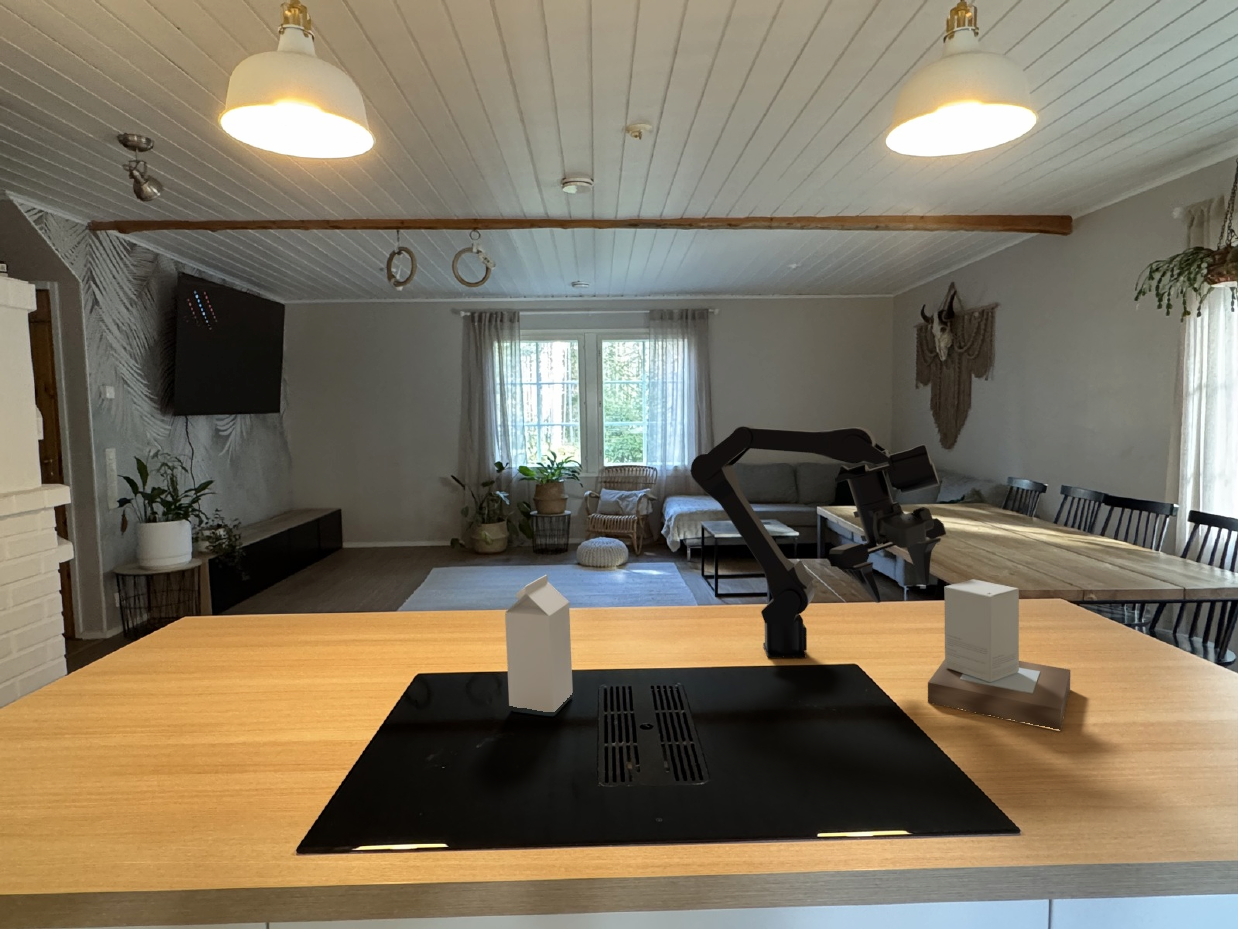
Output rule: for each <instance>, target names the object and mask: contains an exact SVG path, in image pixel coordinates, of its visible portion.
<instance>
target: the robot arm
mask: <svg viewBox="0 0 1238 929" xmlns="http://www.w3.org/2000/svg"><path fill="white" fill-rule="evenodd" d="M927 448H928V447H927V445H926V444H925V443H924V444H920V445H915V447H913V448H910V449H906V450H903V451H898V452H896V453H892V452H891V451H889V450H888V449H885V448H884V447H883V446H881V445H880V444H879V443H877V442H876V438H875V436H874V434H873V433H872V432H871V431H870V429H867V428H866V427H862V426H853V427H845V428H836V429H835V428H834V429H828V430H827V429H826V430H819V431H818V430H805V429H804V430H801V429H786V428H785V429H784V428H771V427H770V428H768V427H755V426H751V425H744V426H743V425H742V426H738V427H737V428H735V429H734V430H733V431H732V433H731V434H730V435H728V436H727V437H726V438H725V439H723V440H722V441H721V442H719V443H718V444H717V445H716V446H714V447H713V448H712V449H711V450H709V452H706V453H701V454H700V455H697V456H696V457H694V458H693V460H692V462H691V465H690V475H691V477H692V479H693V481H694V482H695V483H696V484H697V485H698V487H700V488H701V489H702V491H703V492H704V493H706V495H708V496H710V498H712V499H714V500H715V501H716V502H717V503H718V504H719V505H720V507H722V509H723V511H724V513H725V514H726V516H727V517H728V518H729V520H730V522H731V523H732V524H733V526H734V527H735V529H736V531H737V532H738V533H739V535H740V537H741V538H742V539H743V541H744V543H745V545H746V546H747V547H748V549H749V551H750V552H751V554H752V555H753V556H754V558H755V560H756V561H757V562H758V564H759V566H760V567H761V569H762V570H763V572H764V576H765V580H766V584H767V587H768V591H769V592H770V595H771V598H772V599H771V600H770V601H769V602H768V603H767V604H766V605H765V607H763V609H761V611H760V614H761V615H762V616H761V617H762V618H763V622H764V642H763V643H762V645H763V648H764V651H765V654H766V656H767V658H771V659H773V658H775V659H776V658H777V659H780V658H781V659H783V658H787V659H789V658H790V659H791V658H793V659H794V658H796V659H797V658H798V659H799V658H803V659H804V658H806V657H807V654H806V651H807V649H808V648H807V647H808V646H807V645H808V642H807V640H808V638H807V636H808V635H807V634H808V633H807V631H808V630H807V629H808V628H807V627H806V625H805V623H804V619H803V617H802V615H800V614H802V613H803V612H804V611H806V609H807V607H808V606H809V605H810V603H812V600H813V598H814V596H815V592H816V589H815V585H814V583H813V582H814V580H815V577H813V576H811V575H810V574H809V572H808V571H807V570H806V567H805V565H804V563H803V561H802V560H800V559H799V560H798V561H797V562H796V563H793V561H791V560H789V559H788V558H787V557H786V556H785V555H784V553H783V552H782V550H781V549H780V547H779V546H778V544H777V543H776V541H775V540H774V538H773V537H772V535H771V533H770V532H769V530H768V529H767V528H766V526H765V525H764V523H763V522H762V520H761V519H760V517H759V515H758V514H757V513H756V512H755V510H754V508H753V506H752V505H751V504H750V502H749V500H748V499H747V498H746V496H745V495H744V494H743V492H742V490H741V487H740V482H739V480H738V478H739V477H738V475H737V473H736V472H737V471H736V470H735V468H734V466H735V465H736V464H737V463H738V462H739V461H740V460H741V459H742V458H743V457H744V456H745V455H746V454H747V453H748V452H749V451H750V450H751V449H753V450H768V451H777V452H778V451H779V452H791V453H792V452H793V453H806V454H807V453H808V454H815V455H819V456H822V457H825V458H828V459H832V460H836V461H839V462H845V463H848V464H860V463H862V462H867V463H870V464H873V465H880V464H884V463H887V464H885V465H881V466H877V467H873V468H869V466H868V465H867V464H866V463H865V464H861V465H857V466H854V467H850V468H849V467H847V466H845V465H844V464H843V465H841V466H840V467H839V471H838V473H837V475H836V476H835V478H834V482H836V483H840V482H844V481H847V482H848V485H849V488H850V492H851V494H852V498H853V501H854V505H855V508H856V511H853V516H854V518H855V519H858V518H859V522H860V524H861V527H862V531H863V533H864V534H861V535H860V538H861V541H862V542H865V543H857V542H855V543H851V542H850V543H848V542H847V543H845V544H842V545H839V546H835V547H833V548H831V549H829V553H828V557H827V558H828V560H829V564H830V567H834V568H835V567H836V568H839V570H846V571H847V572H848V574H850V575H851V576H852V577H853V578H854V580H856V581H857V582H858V583H859V585H860V586H861V587H862V588H863V589H864V591H866V593H867V594H868V596H870V598H871V599H872V600H873V602H875V603H877V604H879V603H881V602H882V599H881V596H880V595H881V594H880V592H879V589H878V586H877V582H876V580H875V577H874V574H873V567H874V562H872V561H868V560H869V558H870V555H871V554H874V553H877V552H879V551H882V550H886V549H889V548H891V547H894V546H896V547H898V548H900V549H906V550H907V552H908V555H909V557H910V559H911V562H912V564H913V565H912V566H913V567H914V569H915V571H916V575H917V576H918V579H919V580H920V582H921V584H922V585H923V586H929V584H930V574H931V572H930V570H931V558H932V552H933V550H934V549H935V546H936V545H937V544H938V543H940V542H941V540H942V538H941V537H942V536H945V535H947V530H946V528H945V524H944V523H943V522H942V521H941V520H940V519H938V518H937V517H935V518H933V516H932V513H931V511H930V509H929V508H927V507H925V506H921V507H918V508H916V509H913V511H912V512H908V513H904V511H903V509H902V506H901V505H900V503H899V502H898V501H897V502H894V500H893V497H892V494H891V492H890V487H889V484H888V482H887V478H886V475H885V473H884V471H886V472H887V476H888V479H889V482H890V485H891V487H892V490H896V491H899V490H900V492H901V494H902V495H904V494H907V493H909V494H910V493H912V492H916V491H921V490H924V489H930V488H933V487H937V486H940V481H939V477H938V474H937V473H938V472H937V471H936V468H935V464H934V462H933V461H932V460H931V456H930V454H929V452H928V449H927Z"/></svg>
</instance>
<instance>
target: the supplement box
mask: <svg viewBox="0 0 1238 929" xmlns="http://www.w3.org/2000/svg"><path fill="white" fill-rule="evenodd" d="M943 588H944V660H945V667H946V668H949V669H952V670H955V671H958V672H961V673H964V674H967V675H970V676H973V677H976V678H979V679H982V680H985V681H987V682H993V681H996V680H998V679H1001V678H1004V677H1007V676H1009V675H1012V674H1015V673H1017V672H1018V671H1019V661H1020V658H1019V657H1020V655H1019V654H1020V652H1019V650H1020V645H1019V644H1020V643H1019V642H1020V641H1019V640H1020V639H1019V638H1020V633H1019V632H1020V629H1019V627H1020V623H1019V622H1020V614H1019V613H1020V597H1019V596H1020V588H1018V587H1012V586H1007V585H1003V584H999V583H998V584H997V583H993V582H989V581H983V580H979V579H975V578H973V579H969V580H965V581H960V582H956V583H953V584H949V585H946V586H945V585H944V587H943Z"/></svg>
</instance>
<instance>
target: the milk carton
mask: <svg viewBox="0 0 1238 929" xmlns="http://www.w3.org/2000/svg"><path fill="white" fill-rule="evenodd" d="M548 579H549V578H548V574H544V575H543V576H541V577H539V578H537V579H535V580H534V581H532V582H530V583H528V584H526V585H525V586H524V587H523V588H521V589H520V590H519V591H517V593H516V594H515V597H516V599H518V600H517V601H516V602H514V604H512V605H511V606H510V607H509V608H508V609H507V610H506V611H505V612H504V622H505V641H506V662H507V663H506V666H507V683H508V684H507V685H508V686H507V687H508V688H507V689H508V706H513V707H517V708H527V709H532V710H537V711H543V712H555V711H556V710H557V709H558V708H559V707H560V706H561V705H562V704H563V702H565V701H566V700H567V698H569V697H570V695H572V693H573V690H574V689H573V672H572V670H573V669H572V667H573V666H572V664H573V663H572V643H571V641H572V640H571V615H570V601H569V600H568V599H567V598H566V597H565V596H564V595H563V594H561V592H559V590H557V589H556V588H555V587H554V585H552V584H551V583H550V582H549V581H548ZM573 694H574V693H573Z"/></svg>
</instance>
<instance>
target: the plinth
mask: <svg viewBox="0 0 1238 929" xmlns="http://www.w3.org/2000/svg"><path fill="white" fill-rule="evenodd" d="M1069 691H1070V692H1071V669H1069V668H1063V667H1059V666H1058V667H1057V666H1051V665H1046V664H1040V663H1035V662H1029V661H1023V660H1019V671H1018V672H1017V673H1015V674H1012V675H1009V676H1007V677H1004V678H1001V679H998V680H996V681H993V682H987V681H985V680H982V679H979V678H976V677H973V676H970V675H967V674H964V673H961V672H958V671H955V670H952V669H949V668H946V667H945V659H944V660H943V661H942V662H941V664H940V665H939V666H938V668H937V669H936V670H935V672H934V673H933V675H932V676H931V677H930V679H929V680H928V681H927V703H928V702H929V703H928V704H932V703H934V704H933V705H936V704H938V706H941V705H945V706H949V707H948V708H950V707H953V708H952V709H954V708H959V709H963V710H966V711H965V712H968V711H969V712H968V713H972V712H976V713H975V714H977V713H979V714H978V715H981V714H984V715H983V716H986V715H991V716H995V717H999V718H1003V719H1002V720H1004V719H1011V720H1015V721H1017V722H1016V723H1018V722H1025V723H1030V724H1033V725H1039V726H1045V727H1050V728H1053V729H1059V730H1061V731H1062V727H1063V723H1062V722H1064V719H1063V717H1064V718H1065V714H1064V712H1065V713H1066V710H1065V708H1066V709H1067V705H1068V701H1067V699H1068V700H1069V697H1068V695H1069V696H1070V692H1069ZM1066 704H1067V705H1066ZM945 706H944V707H945ZM959 709H958V710H959ZM963 710H962V711H963ZM995 717H994V718H995ZM999 718H998V719H999ZM1061 726H1062V727H1061Z"/></svg>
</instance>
